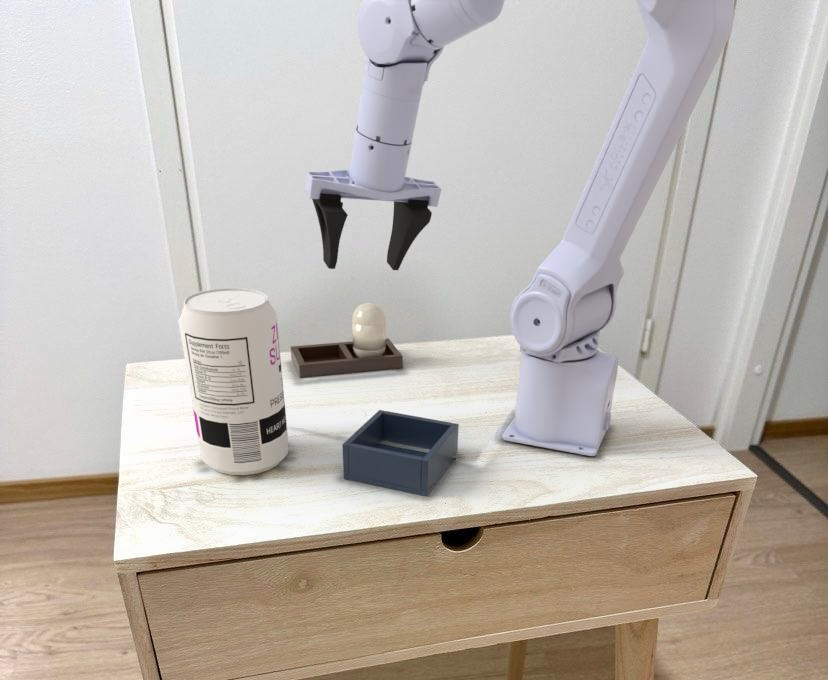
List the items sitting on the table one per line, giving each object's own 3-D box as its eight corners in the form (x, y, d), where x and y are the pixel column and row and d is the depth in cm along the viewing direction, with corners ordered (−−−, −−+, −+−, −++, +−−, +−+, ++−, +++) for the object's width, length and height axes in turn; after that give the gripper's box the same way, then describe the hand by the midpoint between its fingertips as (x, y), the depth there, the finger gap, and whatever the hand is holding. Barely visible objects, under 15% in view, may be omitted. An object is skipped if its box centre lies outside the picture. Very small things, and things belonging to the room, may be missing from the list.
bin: (457, 457, 73) (459, 423, 71) (427, 496, 67) (427, 461, 65) (379, 442, 75) (379, 409, 73) (343, 478, 69) (342, 444, 67)
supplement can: (188, 453, 73) (160, 295, 64) (264, 432, 77) (247, 280, 68) (225, 487, 67) (200, 320, 59) (305, 462, 72) (292, 302, 63)
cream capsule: (391, 358, 93) (390, 300, 89) (377, 369, 90) (377, 310, 86) (361, 353, 94) (360, 296, 90) (347, 364, 91) (345, 305, 87)
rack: (402, 373, 91) (402, 356, 90) (300, 382, 88) (298, 365, 87) (388, 354, 96) (388, 338, 95) (291, 363, 93) (290, 346, 92)
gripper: (432, 127, 81) (406, 250, 90) (302, 112, 74) (288, 246, 84) (460, 152, 76) (429, 279, 86) (324, 139, 70) (307, 277, 80)
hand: (361, 265), depth 84 cm, fingers open, 7 cm apart
